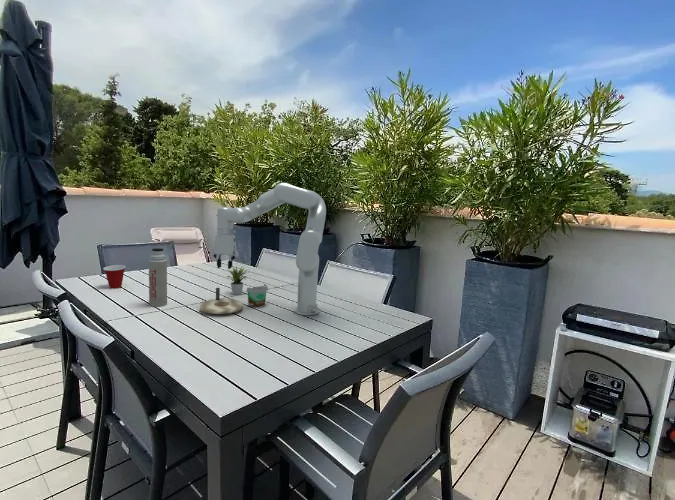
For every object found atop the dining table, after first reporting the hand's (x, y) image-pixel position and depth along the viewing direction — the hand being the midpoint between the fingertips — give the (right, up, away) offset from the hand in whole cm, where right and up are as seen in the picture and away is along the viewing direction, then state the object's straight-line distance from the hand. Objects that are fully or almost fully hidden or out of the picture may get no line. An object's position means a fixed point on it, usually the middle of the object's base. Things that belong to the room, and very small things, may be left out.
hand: (224, 267), depth 182 cm
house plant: (0, -17, +23) cm, 29 cm away
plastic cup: (-69, -13, +23) cm, 74 cm away
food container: (+17, -20, +5) cm, 26 cm away
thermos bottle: (-32, -18, -3) cm, 37 cm away
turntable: (0, -21, -6) cm, 21 cm away
